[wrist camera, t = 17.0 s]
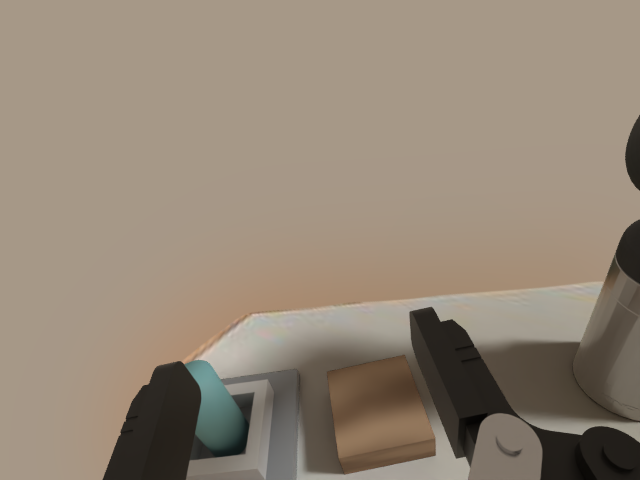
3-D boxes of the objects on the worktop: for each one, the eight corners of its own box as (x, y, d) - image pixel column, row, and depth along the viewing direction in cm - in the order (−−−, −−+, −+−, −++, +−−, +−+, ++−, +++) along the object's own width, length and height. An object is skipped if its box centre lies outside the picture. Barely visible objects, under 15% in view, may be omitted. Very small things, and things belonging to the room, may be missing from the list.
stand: (332, 389, 45) (326, 371, 42) (406, 373, 44) (404, 354, 42) (344, 474, 36) (338, 458, 34) (435, 455, 36) (435, 438, 34)
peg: (231, 409, 44) (193, 353, 37) (259, 428, 41) (223, 371, 34) (202, 445, 40) (154, 392, 34) (229, 469, 38) (184, 416, 31)
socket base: (192, 389, 49) (179, 371, 46) (299, 375, 47) (291, 355, 45) (149, 530, 36) (126, 516, 33) (294, 517, 34) (283, 501, 32)
